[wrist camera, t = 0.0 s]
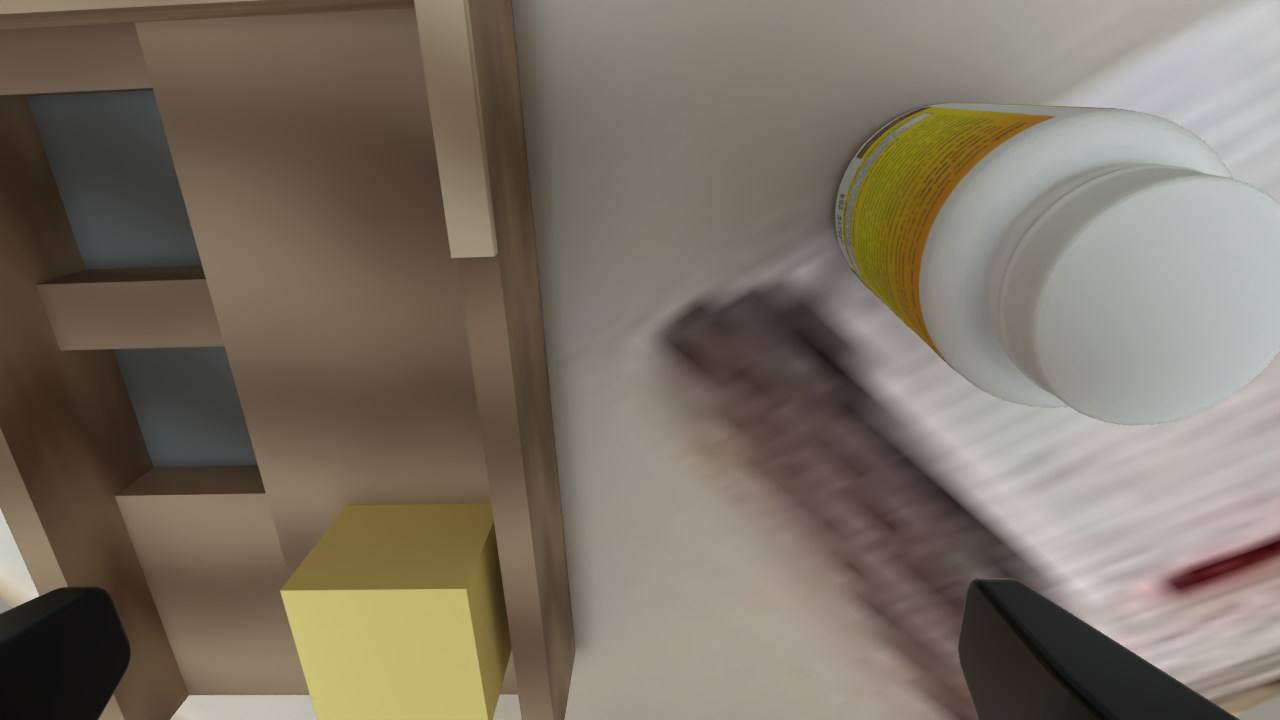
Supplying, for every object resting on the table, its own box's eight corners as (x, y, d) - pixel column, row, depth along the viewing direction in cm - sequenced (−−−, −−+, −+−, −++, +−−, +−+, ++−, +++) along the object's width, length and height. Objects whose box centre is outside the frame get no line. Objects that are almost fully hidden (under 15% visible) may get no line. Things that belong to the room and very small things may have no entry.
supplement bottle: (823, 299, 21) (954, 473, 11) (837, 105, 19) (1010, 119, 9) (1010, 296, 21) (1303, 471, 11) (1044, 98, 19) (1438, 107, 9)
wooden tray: (575, 651, 26) (556, 769, 22) (197, 653, 27) (102, 767, 22) (508, -31, 18) (454, -72, 13) (-37, -1, 19) (-263, -30, 14)
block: (517, 628, 23) (489, 729, 20) (374, 628, 24) (320, 729, 20) (500, 502, 22) (466, 589, 18) (345, 505, 22) (279, 590, 18)
